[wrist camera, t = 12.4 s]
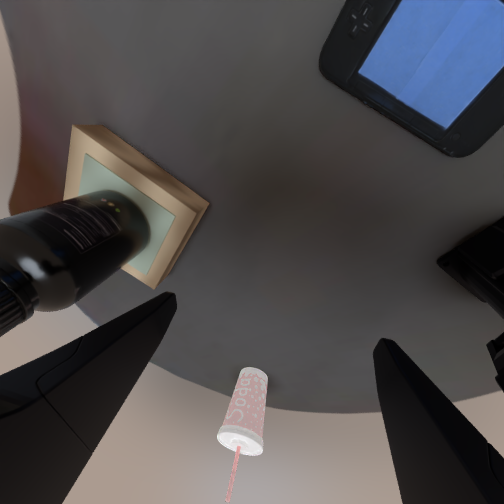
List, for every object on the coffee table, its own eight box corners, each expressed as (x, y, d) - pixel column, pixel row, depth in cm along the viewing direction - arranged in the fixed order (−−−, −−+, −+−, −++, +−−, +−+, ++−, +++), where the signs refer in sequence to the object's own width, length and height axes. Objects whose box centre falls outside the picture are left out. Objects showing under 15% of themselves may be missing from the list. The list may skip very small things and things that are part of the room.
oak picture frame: (209, 203, 21) (196, 214, 19) (168, 274, 28) (153, 290, 25) (102, 125, 20) (70, 124, 17) (83, 219, 26) (58, 229, 24)
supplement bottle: (140, 264, 23) (14, 369, 13) (83, 226, 22) (-99, 308, 12) (162, 218, 20) (12, 314, 10) (96, 172, 19) (-147, 223, 9)
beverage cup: (270, 366, 33) (250, 501, 21) (274, 389, 36) (258, 518, 24) (233, 361, 34) (194, 484, 23) (239, 383, 37) (207, 502, 26)
